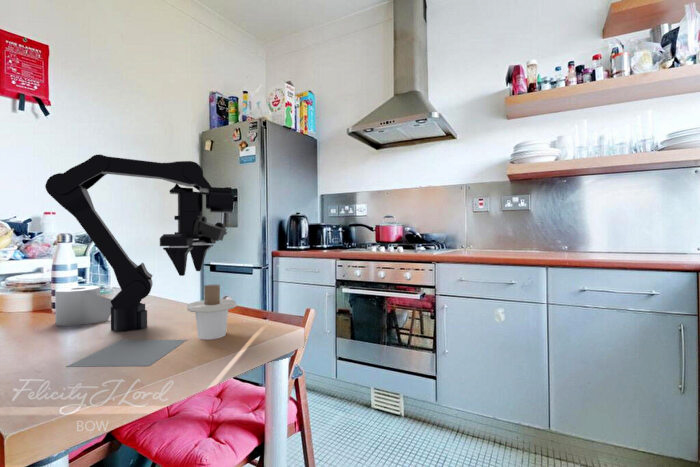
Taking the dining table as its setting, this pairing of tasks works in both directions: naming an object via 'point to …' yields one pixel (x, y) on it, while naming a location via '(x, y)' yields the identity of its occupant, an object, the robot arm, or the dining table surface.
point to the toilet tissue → (81, 306)
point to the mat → (129, 353)
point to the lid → (211, 301)
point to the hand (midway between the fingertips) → (190, 273)
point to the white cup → (211, 324)
